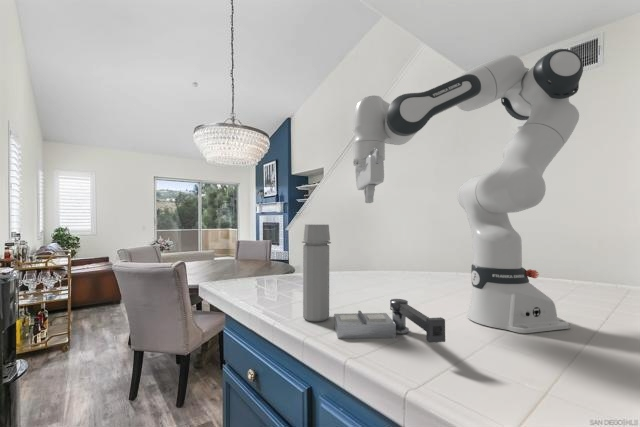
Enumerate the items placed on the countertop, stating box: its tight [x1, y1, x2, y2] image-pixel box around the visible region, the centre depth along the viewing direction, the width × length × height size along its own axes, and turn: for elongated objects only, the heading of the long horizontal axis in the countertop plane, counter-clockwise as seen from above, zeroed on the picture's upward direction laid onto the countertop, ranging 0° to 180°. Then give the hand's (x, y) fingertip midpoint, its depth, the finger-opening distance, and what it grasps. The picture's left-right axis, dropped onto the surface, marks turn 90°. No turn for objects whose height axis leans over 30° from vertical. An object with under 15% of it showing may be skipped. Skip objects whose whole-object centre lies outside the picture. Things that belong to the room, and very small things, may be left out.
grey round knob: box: [391, 310, 410, 335], centre depth 71 cm, size 4×4×4 cm
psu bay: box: [333, 310, 397, 339], centre depth 71 cm, size 13×8×4 cm, turn 93°
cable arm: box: [389, 298, 446, 344], centre depth 64 cm, size 19×4×4 cm, turn 9°
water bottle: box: [301, 223, 332, 323], centre depth 81 cm, size 9×8×25 cm
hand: (369, 203), depth 86 cm, fingers closed
